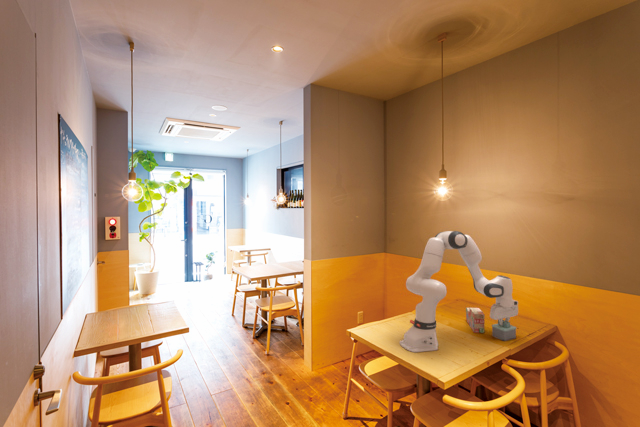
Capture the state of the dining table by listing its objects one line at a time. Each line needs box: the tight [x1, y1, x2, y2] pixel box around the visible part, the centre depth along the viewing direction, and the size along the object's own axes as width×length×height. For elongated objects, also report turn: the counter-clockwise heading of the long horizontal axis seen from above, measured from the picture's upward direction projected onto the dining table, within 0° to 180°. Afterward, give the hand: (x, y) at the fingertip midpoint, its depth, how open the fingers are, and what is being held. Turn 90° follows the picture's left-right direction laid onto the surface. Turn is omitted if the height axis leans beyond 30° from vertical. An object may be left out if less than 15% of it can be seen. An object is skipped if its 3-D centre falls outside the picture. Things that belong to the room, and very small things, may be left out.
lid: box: [491, 319, 517, 331], centre depth 191 cm, size 10×8×5 cm
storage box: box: [491, 326, 517, 342], centre depth 191 cm, size 10×8×6 cm
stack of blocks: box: [465, 307, 485, 334], centre depth 209 cm, size 21×6×12 cm, turn 167°
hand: (503, 324), depth 191 cm, fingers closed on lid, 3 cm apart
